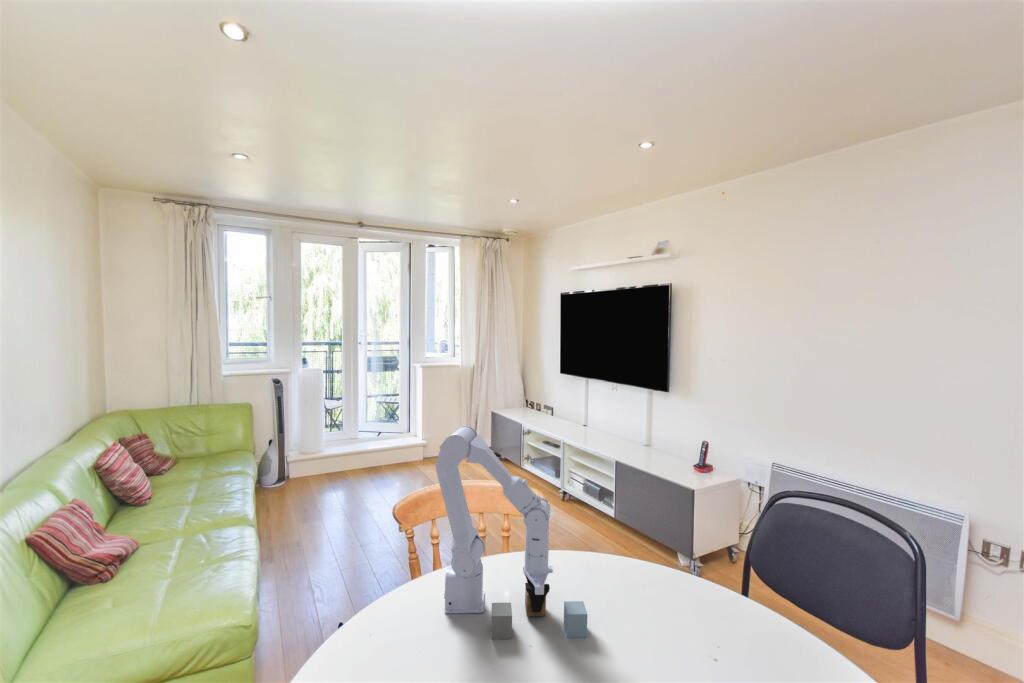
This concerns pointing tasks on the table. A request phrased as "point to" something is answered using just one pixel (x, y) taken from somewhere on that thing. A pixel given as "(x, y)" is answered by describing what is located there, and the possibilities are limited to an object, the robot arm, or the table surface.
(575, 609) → the slate block
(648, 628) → the table surface
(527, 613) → the walnut block
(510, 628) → the grey block
